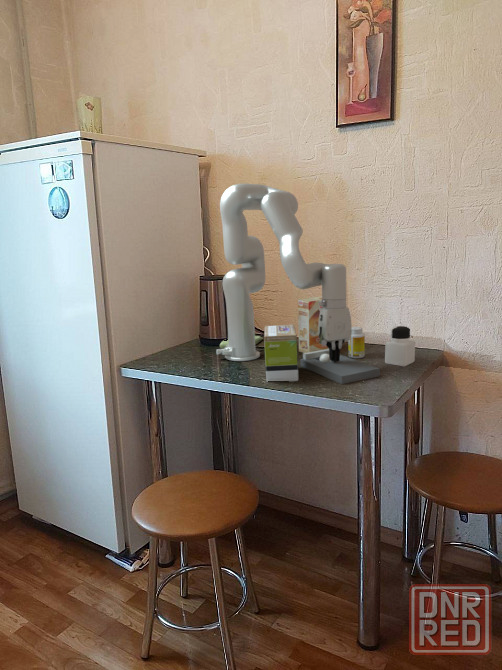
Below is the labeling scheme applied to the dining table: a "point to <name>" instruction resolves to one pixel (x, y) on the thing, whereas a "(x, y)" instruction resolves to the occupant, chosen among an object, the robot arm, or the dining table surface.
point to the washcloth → (224, 343)
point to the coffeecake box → (309, 324)
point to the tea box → (281, 353)
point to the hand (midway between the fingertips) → (334, 360)
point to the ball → (325, 358)
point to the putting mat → (339, 367)
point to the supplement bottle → (356, 343)
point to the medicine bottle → (400, 347)
